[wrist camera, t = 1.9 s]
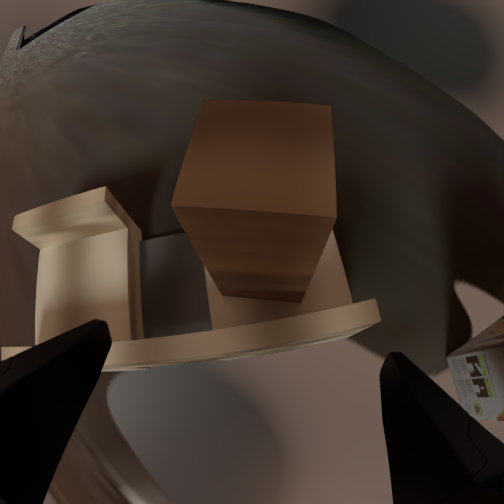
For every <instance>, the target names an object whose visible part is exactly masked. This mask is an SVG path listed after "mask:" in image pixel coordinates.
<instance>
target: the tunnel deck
mask: <svg viewBox="0 0 504 504" xmlns="http://www.w3.org/2000/svg"><path fill="white" fill-rule="evenodd" d="M12 230H14V231H15V232H17V233H18V234H19V235H21V236H22V237H23V238H25V239H26V240H28V241H29V242H30V243H32V244H33V245H35V246H36V247H38V248H39V249H40V256H39V265H38V276H37V290H36V315H35V341H36V345H38V344H40V343H42V342H44V341H47V340H49V339H51V338H53V337H55V336H58V335H60V334H62V333H64V332H66V331H69V330H71V329H73V328H75V327H78V326H80V325H82V324H84V323H86V322H89V321H91V320H93V319H101V320H105V321H106V322H107V324H108V327H109V331H110V335H111V338H112V346H111V349H110V351H109V353H108V356H107V359H106V361H105V364H104V366H103V369H102V371H101V372H111V371H131V370H146V369H150V367H151V366H163V365H174V364H183V363H192V362H201V361H209V360H216V359H217V360H222V361H228V360H235V359H242V358H248V357H254V356H260V355H266V354H272V353H277V352H282V351H287V350H293V349H297V348H302V347H307V346H312V345H316V344H321V343H326V342H330V341H334V340H339V339H343V338H347V337H349V336H352V335H354V334H356V333H358V332H360V331H362V330H364V329H366V328H368V327H370V326H372V325H374V324H376V323H378V322H380V321H381V318H380V314H379V310H378V306H377V302H376V299H371V300H367V301H363V302H359V303H354V304H353V302H352V298H351V294H350V290H349V286H348V283H347V279H346V275H345V271H344V268H343V264H342V260H341V257H340V253H339V250H338V246H337V243H336V239H335V236H334V233H333V229H332V231H331V233H330V236H329V238H328V241H327V243H326V246H325V248H324V251H323V253H322V255H321V258H320V260H319V263H318V265H317V267H316V270H315V272H314V275H313V277H312V279H311V282H310V284H309V286H308V288H307V291H306V293H305V295H304V298H303V300H302V302H301V303H297V302H284V301H273V300H262V299H251V298H241V297H232V296H222V295H221V293H220V291H219V290H218V288H217V286H216V284H215V283H214V281H213V279H212V278H211V276H210V274H209V273H208V271H207V269H206V267H205V266H204V264H203V262H202V261H201V259H200V257H199V255H198V254H197V252H196V250H195V248H194V247H193V245H192V243H191V241H190V240H189V238H188V236H187V234H186V233H179V234H174V235H169V236H164V237H159V238H154V239H149V240H144V241H142V231H141V230H140V229H139V228H138V226H137V225H136V224H135V223H134V221H133V220H132V219H131V218H130V216H129V215H128V214H127V213H126V211H125V210H124V209H123V208H122V206H121V205H120V204H119V203H118V201H117V200H116V199H115V197H114V196H113V195H112V194H111V192H110V191H109V190H108V188H107V187H106V186H105V187H101V188H98V189H94V190H91V191H87V192H84V193H81V194H77V195H74V196H71V197H68V198H65V199H61V200H58V201H55V202H52V203H49V204H46V205H44V206H41V207H38V208H35V209H32V210H29V211H27V212H24V213H21V214H18V215H16V216H15V217H14V222H13V227H12ZM29 348H31V347H1V352H2V361H3V360H5V359H7V358H9V357H11V356H14V355H16V354H18V353H20V352H23V351H25V350H27V349H29Z"/></svg>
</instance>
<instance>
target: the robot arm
mask: <svg viewBox="0 0 504 504" xmlns="http://www.w3.org/2000/svg"><path fill="white" fill-rule="evenodd" d="M111 346H112V338H111V335H110V331H109V327H108V324H107V322H106V321H105V320H101V319H93V320H91V321H89V322H86V323H84V324H82V325H80V326H78V327H75V328H73V329H71V330H69V331H66V332H64V333H62V334H60V335H58V336H55V337H53V338H51V339H49V340H47V341H44V342H42V343H40V344H38V345H36V346H33V347H31V348H29V349H27V350H25V351H23V352H20V353H18V354H16V355H14V356H11V357H9V358H7V359H5V360H3V361H0V504H43V502H44V499H45V497H46V494H47V491H48V489H49V486H50V484H51V481H52V479H53V476H54V474H55V471H56V469H57V467H58V464H59V462H60V460H61V457H62V455H63V453H64V450H65V448H66V446H67V444H68V442H69V439H70V437H71V435H72V433H73V431H74V429H75V426H76V424H77V422H78V420H79V418H80V416H81V414H82V412H83V410H84V408H85V406H86V404H87V402H88V400H89V398H90V396H91V394H92V392H93V390H94V388H95V386H96V383H97V381H98V379H99V377H100V374H101V371H102V369H103V366H104V364H105V361H106V359H107V356H108V353H109V351H110V349H111ZM380 390H381V405H382V420H383V427H384V433H385V440H386V446H387V453H388V461H389V469H390V477H391V486H392V495H393V504H504V444H503V443H502V442H501V441H500V440H499V439H497V438H496V437H495V436H493V435H492V434H491V433H490V432H489V431H488V430H486V429H485V428H484V427H483V426H482V425H481V424H480V423H479V422H477V421H476V420H475V419H474V418H473V417H472V416H470V414H469V413H468V412H467V411H466V410H464V409H463V408H462V407H461V406H460V405H459V404H458V403H457V402H456V401H454V399H453V398H451V397H450V396H449V395H448V394H447V393H446V392H445V391H444V390H443V389H442V388H440V387H439V386H438V385H437V384H436V383H435V382H434V381H433V380H432V379H431V378H429V377H428V376H427V375H426V374H425V373H424V372H423V371H422V370H421V369H419V368H418V367H417V366H416V365H415V364H414V363H413V362H412V361H411V360H409V359H408V358H407V357H406V356H405V355H404V354H403V353H401V352H389V353H388V354H387V356H386V358H385V361H384V363H383V366H382V368H381V371H380Z"/></svg>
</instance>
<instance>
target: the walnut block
mask: <svg viewBox="0 0 504 504" xmlns="http://www.w3.org/2000/svg"><path fill="white" fill-rule="evenodd" d="M171 208H172V209H173V211H174V213H175V215H176V217H177V218H178V220H179V222H180V224H181V226H182V227H183V229H184V231H185V233H186V234H187V236H188V238H189V240H190V241H191V243H192V245H193V247H194V248H195V250H196V252H197V254H198V255H199V257H200V259H201V261H202V262H203V264H204V266H205V267H206V269H207V271H208V273H209V274H210V276H211V278H212V279H213V281H214V283H215V284H216V286H217V288H218V290H219V291H220V293H221V295H222V296H232V297H241V298H251V299H262V300H273V301H284V302H297V303H301V302H302V300H303V298H304V295H305V293H306V291H307V288H308V286H309V284H310V282H311V279H312V277H313V275H314V272H315V270H316V267H317V265H318V263H319V260H320V258H321V255H322V253H323V251H324V248H325V246H326V243H327V241H328V238H329V236H330V233H331V231H332V228H333V226H334V223H335V221H336V218H337V207H336V177H335V157H334V141H333V128H332V116H331V106H325V105H316V104H305V103H293V102H278V101H255V100H203V103H202V106H201V108H200V111H199V114H198V117H197V120H196V123H195V126H194V129H193V132H192V135H191V138H190V141H189V144H188V147H187V151H186V154H185V157H184V160H183V164H182V167H181V170H180V174H179V177H178V181H177V184H176V188H175V191H174V195H173V198H172V202H171Z"/></svg>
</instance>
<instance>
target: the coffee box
mask: <svg viewBox="0 0 504 504" xmlns="http://www.w3.org/2000/svg"><path fill="white" fill-rule="evenodd" d="M447 362H448V365H449V368H450V371H451V374H452V377H453V380H454V383H455V386H456V389H457V392H458V396H459V399H460V403H461V406H462V408H463V409H464V410H466V411H467V412H468V413H469V414H470V416H472V417H473V418H474V419H483V420H497V421H504V316H502V317H501V318H500V319H498V320H497V321H496V322H495V323H493V324H492V325H491V326H489V327H488V328H487V329H485V330H484V331H483V332H481V333H480V334H478V335H477V336H476V337H474V338H473V339H471V340H470V341H469V342H467V343H466V344H464V345H463V346H461V347H460V348H458V349H457V350H455V351H454V352H452V353H451V354H449V355H448V356H447Z"/></svg>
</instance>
